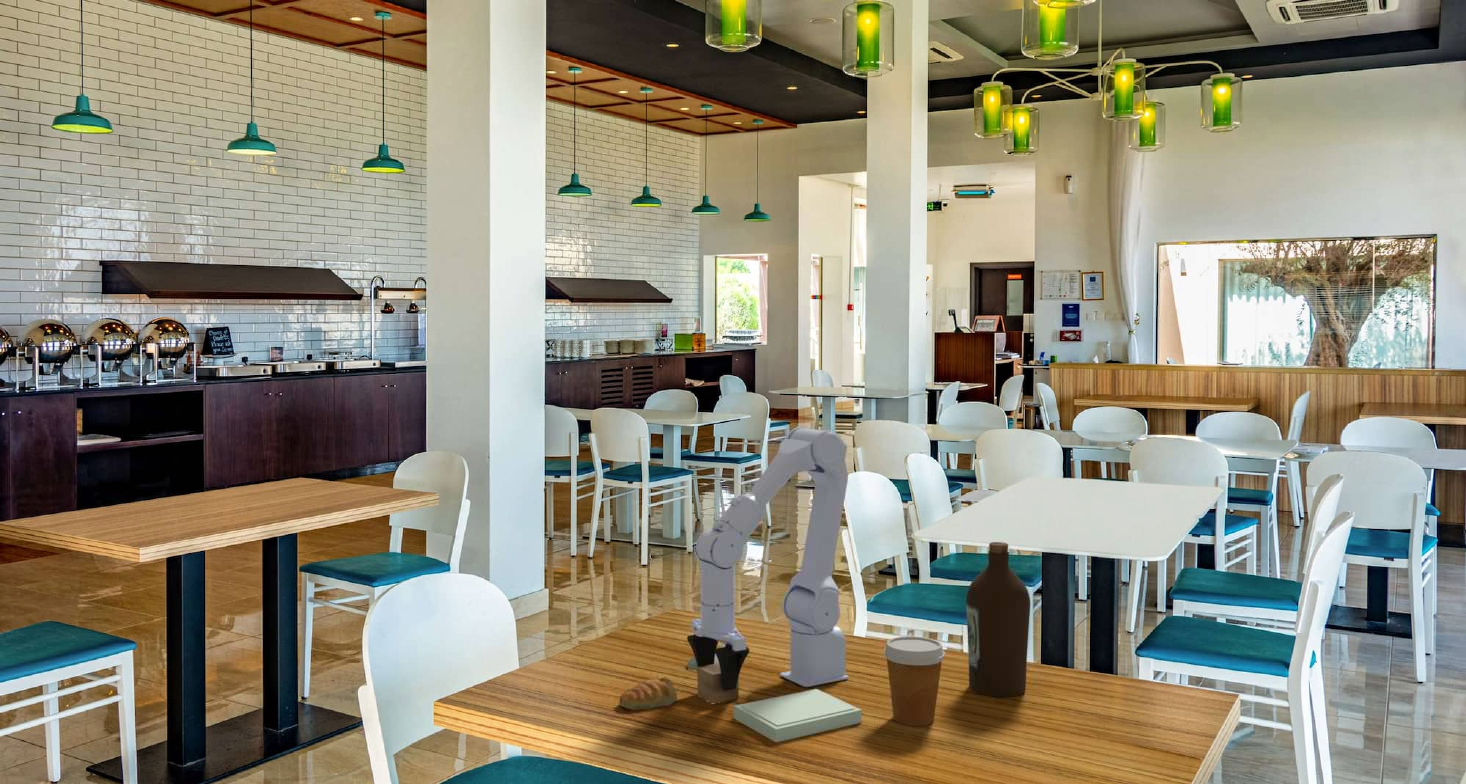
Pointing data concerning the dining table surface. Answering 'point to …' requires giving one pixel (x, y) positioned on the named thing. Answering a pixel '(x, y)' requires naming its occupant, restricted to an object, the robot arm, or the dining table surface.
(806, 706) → the serving board
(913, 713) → the disposable coffee cup
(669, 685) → the pastry
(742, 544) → the robot arm
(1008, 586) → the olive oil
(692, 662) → the soupspoon
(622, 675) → the dining table surface
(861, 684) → the dining table surface
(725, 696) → the walnut block
